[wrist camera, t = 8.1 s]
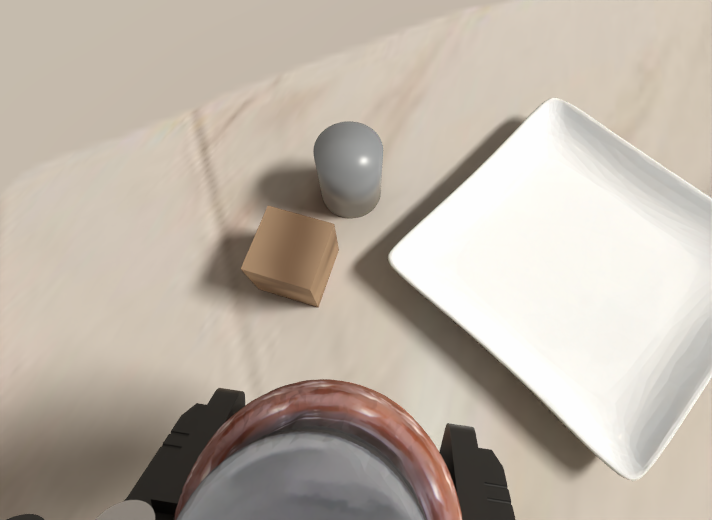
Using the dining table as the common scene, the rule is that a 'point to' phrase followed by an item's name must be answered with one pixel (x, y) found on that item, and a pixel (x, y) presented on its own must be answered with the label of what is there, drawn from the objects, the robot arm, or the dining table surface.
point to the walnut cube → (292, 255)
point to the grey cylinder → (349, 168)
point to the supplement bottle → (320, 461)
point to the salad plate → (579, 279)
